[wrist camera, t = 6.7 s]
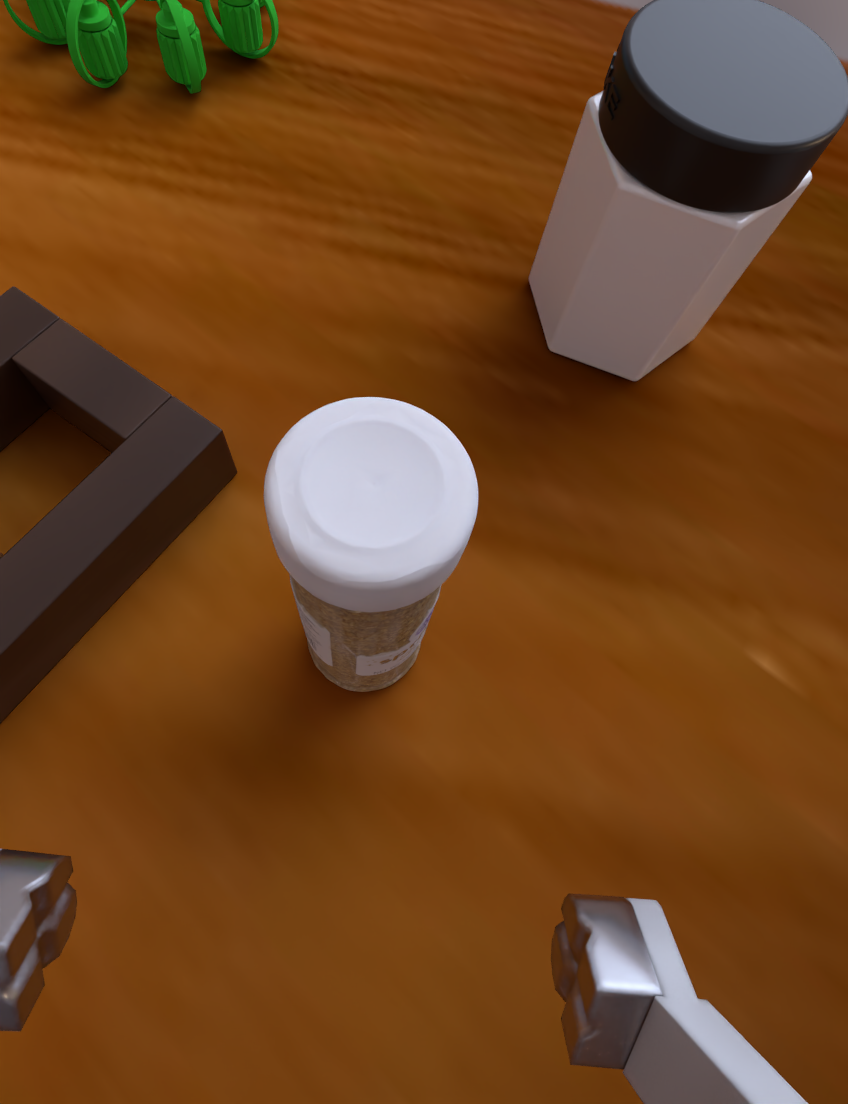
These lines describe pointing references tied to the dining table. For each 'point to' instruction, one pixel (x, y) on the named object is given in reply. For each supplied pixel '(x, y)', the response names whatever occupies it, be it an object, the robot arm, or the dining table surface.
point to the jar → (681, 176)
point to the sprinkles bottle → (368, 531)
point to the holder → (91, 487)
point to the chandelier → (176, 31)
